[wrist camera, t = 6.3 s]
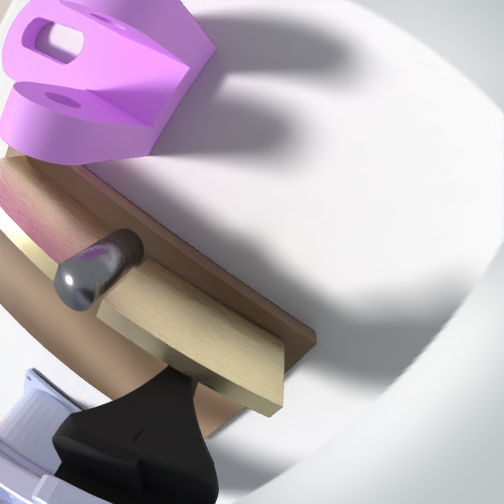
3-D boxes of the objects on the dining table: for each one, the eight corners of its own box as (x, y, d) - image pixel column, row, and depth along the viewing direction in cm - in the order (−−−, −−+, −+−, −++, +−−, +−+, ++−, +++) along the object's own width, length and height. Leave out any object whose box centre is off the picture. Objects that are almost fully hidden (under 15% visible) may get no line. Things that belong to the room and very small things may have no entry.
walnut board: (195, 436, 18) (192, 447, 17) (-10, 277, 16) (-19, 282, 15) (315, 331, 14) (316, 343, 13) (28, 122, 12) (16, 123, 11)
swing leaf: (274, 353, 14) (269, 417, 10) (142, 271, 13) (95, 316, 9) (284, 341, 13) (283, 406, 10) (149, 257, 13) (102, 300, 9)
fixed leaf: (133, 274, 13) (84, 320, 9) (18, 176, 12) (-40, 191, 8) (150, 244, 13) (99, 285, 9) (28, 146, 12) (-33, 155, 8)
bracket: (217, 50, 11) (155, -29, 4) (149, 155, 13) (41, 172, 6) (49, -10, 9) (-27, -39, 3) (6, 68, 11) (-77, 63, 5)
